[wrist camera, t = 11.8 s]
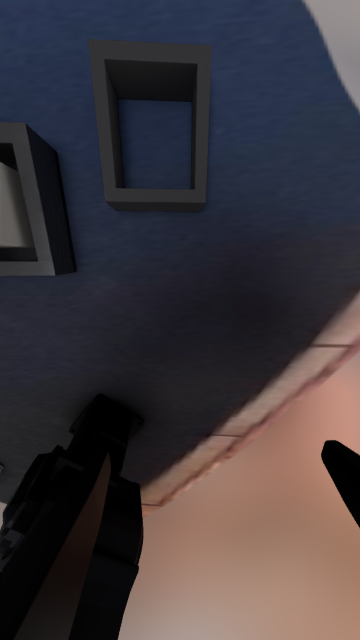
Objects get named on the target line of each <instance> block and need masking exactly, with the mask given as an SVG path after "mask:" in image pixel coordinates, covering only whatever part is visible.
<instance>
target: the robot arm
mask: <svg viewBox="0 0 360 640" xmlns="http://www.w3.org/2000/svg"><path fill="white" fill-rule="evenodd" d="M99 399H101V400H99ZM143 425H144V419H143V418H141V417H139V416H138V415H136V414H134V413H133V412H131V411H129V410H128V409H126V408H124V407H122V406H121V405H119V404H117V403H116V402H114V401H112V400H110V399H109V398H107V397H105V396H104V395H101V394H99V395H97V396H96V397H95V398H94V399H93V401H92V402H91V403H90V404H89V405H88V407H87V408H86V409H85V410H84V411H83V413H82V414H81V415H80V416H79V417H78V418H77V420H76V421H75V422H74V423H73V424H72V426H71V427H70V429H69V432H70V433H71V434H73V435H74V437H73V439H72V441H71V442H70V444H69V446H68V448H67V450H64V449H63V447H61V446H59V445H57V446H56V447H55V448H54V450H53V451H52V452H50V453H46V454H39V455H38V456H37V457H36V458H35V460H34V461H33V463H32V464H31V466H30V467H29V469H28V470H27V472H26V473H25V475H24V476H23V478H22V480H21V481H20V483H19V484H18V486H17V488H16V490H15V492H14V493H13V495H12V497H11V499H10V501H9V502H8V504H7V506H6V508H5V510H4V511H3V525H2V527H1V530H0V640H118V636H119V631H120V627H121V623H122V619H123V614H124V611H125V608H126V604H127V601H128V598H129V594H130V591H131V588H132V586H133V584H134V581H135V579H136V576H137V574H138V570H139V566H138V563H139V559H140V555H141V551H142V545H143V519H142V507H141V494H140V484H138V483H136V482H134V483H133V482H131V481H129V480H127V479H125V478H123V477H121V472H122V467H123V463H124V458H125V454H126V449H127V445H128V440H129V439H130V438H131V437H132V436H133V435H134V434H135V433H136V432H137V431H138V430H139V429H140V428H141V427H142V426H143ZM321 458H322V461H323V463H324V465H325V467H326V469H327V470H328V472H329V474H330V476H331V478H332V480H333V482H334V484H335V486H336V487H337V490H338V491H339V493H340V495H341V497H342V499H343V501H344V503H345V504H346V506H347V508H348V510H349V511H350V513H351V514H352V516H353V518H354V520H355V521H356V523H357V524H358V526H359V527H360V455H359V454H357V453H355V452H354V451H352V450H351V449H349V448H348V447H346V446H345V445H343V444H342V443H340V442H338V441H336V440H327V441H326V442H325V443H324V446H323V450H322V453H321Z"/></svg>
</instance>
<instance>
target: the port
mask: <svg viewBox="0 0 360 640" xmlns="http://www.w3.org/2000/svg"><path fill="white" fill-rule="evenodd" d="M0 162H1V163H3V164H5V165H6V166H8V167H10V168H12V169H14V170H15V171H17V172H19V176H20V180H21V185H22V189H23V194H24V198H25V203H26V207H27V212H28V217H29V221H30V226H31V230H32V235H33V239H34V244H35V248H0V276H55V275H61V274H67V273H73V272H77V271H76V265H75V259H74V253H73V247H72V241H71V235H70V229H69V222H68V216H67V210H66V204H65V198H64V192H63V186H62V180H61V174H60V167H59V161H58V155H57V152H56V151H55V150H54V149H53V148H52V147H51V146H50V145H49V144H48V143H46V142H45V141H44V140H43V139H42V138H41V137H40V136H39V135H38V134H37V133H36V132H35V131H33V130H32V129H31V128H30V127H29V126H28V125H27V124H26V123H16V122H0Z"/></svg>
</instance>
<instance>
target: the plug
mask: <svg viewBox="0 0 360 640" xmlns="http://www.w3.org/2000/svg"><path fill="white" fill-rule="evenodd" d="M0 248H35V244H34V239H33V235H32V230H31V226H30V221H29V217H28V212H27V207H26V203H25V198H24V194H23V189H22V185H21V180H20V176H19V172H17V171H15V170H14V169H12V168H10V167H8V166H6V165H5V164H3V163H1V162H0Z"/></svg>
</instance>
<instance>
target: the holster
mask: <svg viewBox="0 0 360 640" xmlns="http://www.w3.org/2000/svg"><path fill="white" fill-rule="evenodd" d="M88 44H89V53H90V62H91V72H92V81H93V90H94V100H95V109H96V119H97V128H98V137H99V147H100V156H101V166H102V175H103V184H104V194H105V202H107V203H108V204H109V205H110V206H111V207H113V208H114V209H115V210H116V211H185V212H200V210H201V209H202V207H203V206H204V205H205V203H206V183H207V156H208V128H209V100H210V73H211V46H209V45H190V44H171V43H152V42H133V41H114V40H95V39H88ZM117 99H144V100H170V101H192V139H191V189H129V188H124V180H123V167H122V154H121V141H120V128H119V116H118V103H117Z"/></svg>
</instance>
